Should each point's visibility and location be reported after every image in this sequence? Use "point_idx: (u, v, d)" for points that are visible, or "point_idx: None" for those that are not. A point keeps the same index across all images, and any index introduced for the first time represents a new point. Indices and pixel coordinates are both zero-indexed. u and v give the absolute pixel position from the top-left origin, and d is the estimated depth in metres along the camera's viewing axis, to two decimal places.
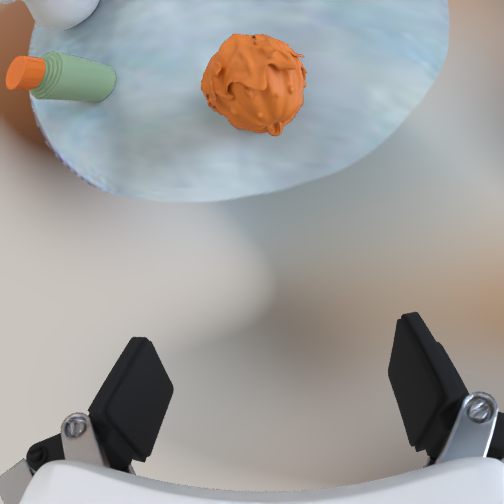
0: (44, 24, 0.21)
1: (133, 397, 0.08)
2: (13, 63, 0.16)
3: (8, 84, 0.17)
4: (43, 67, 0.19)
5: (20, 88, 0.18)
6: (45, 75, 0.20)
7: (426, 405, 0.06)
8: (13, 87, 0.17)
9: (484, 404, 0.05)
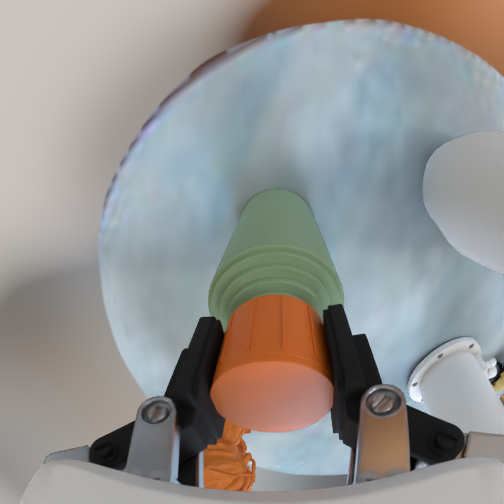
0: (463, 177, 0.13)
1: (211, 375, 0.09)
2: (319, 393, 0.08)
3: (237, 378, 0.08)
4: None
5: None
6: None
7: (335, 391, 0.07)
8: (214, 397, 0.08)
9: (388, 393, 0.06)
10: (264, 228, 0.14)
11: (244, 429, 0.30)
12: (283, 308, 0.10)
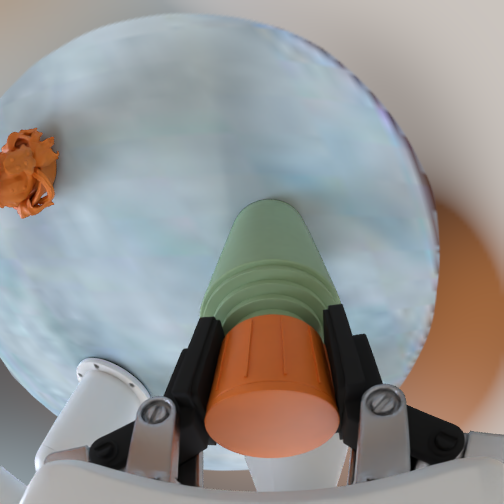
0: None
1: (211, 375, 0.09)
2: (322, 420, 0.07)
3: (234, 407, 0.07)
4: None
5: None
6: None
7: (335, 391, 0.07)
8: (209, 424, 0.07)
9: (388, 393, 0.06)
10: None
11: (14, 206, 0.20)
12: (282, 329, 0.09)
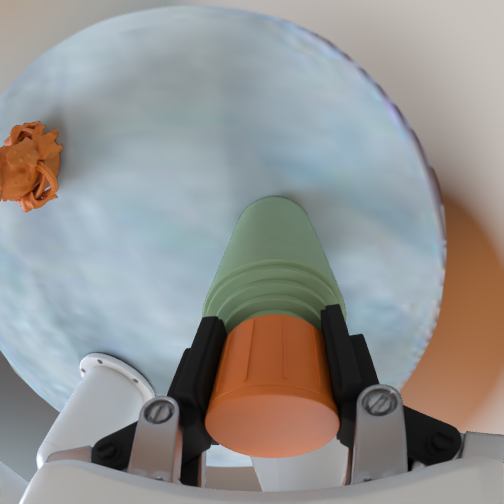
0: None
1: (214, 375, 0.09)
2: (322, 423, 0.07)
3: (233, 409, 0.07)
4: None
5: None
6: None
7: (332, 391, 0.07)
8: (209, 425, 0.07)
9: (384, 393, 0.06)
10: None
11: (17, 199, 0.19)
12: (284, 330, 0.09)
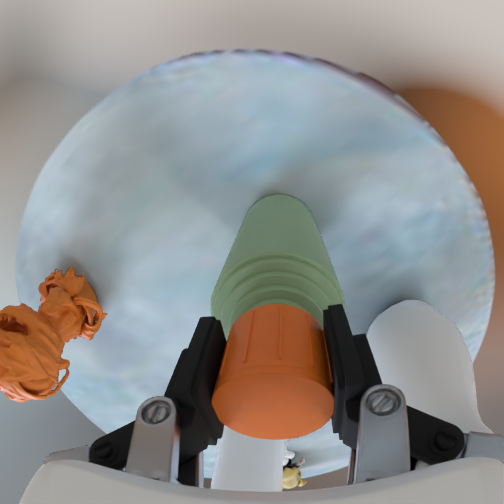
0: (424, 338, 0.18)
1: (211, 375, 0.09)
2: (252, 386, 0.07)
3: (239, 427, 0.08)
4: None
5: None
6: None
7: (335, 391, 0.07)
8: (271, 437, 0.09)
9: (388, 393, 0.06)
10: (322, 252, 0.14)
11: (77, 334, 0.27)
12: None
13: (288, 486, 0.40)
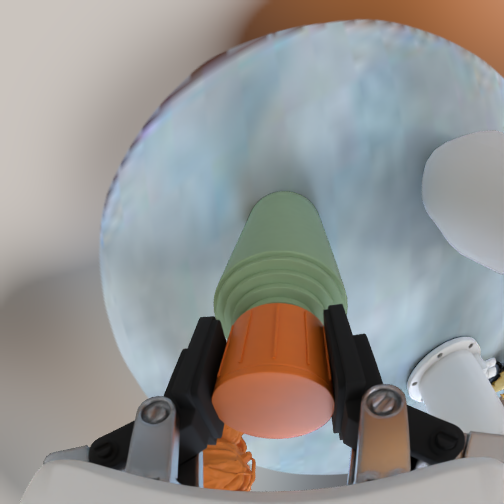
0: (462, 177, 0.13)
1: (211, 375, 0.09)
2: (233, 420, 0.08)
3: (306, 428, 0.08)
4: (270, 309, 0.10)
5: None
6: None
7: (336, 391, 0.07)
8: (330, 408, 0.08)
9: (388, 393, 0.06)
10: (269, 233, 0.14)
11: None
12: None
13: None
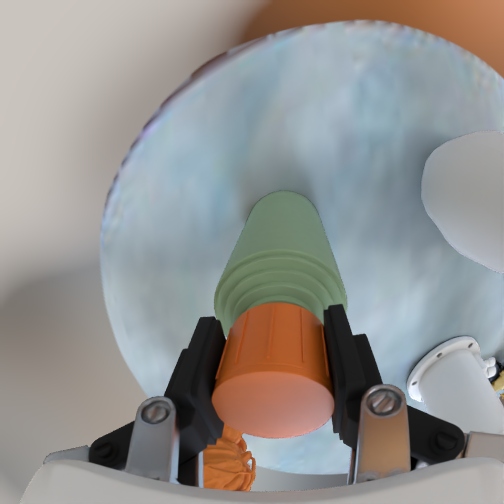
0: (461, 177, 0.14)
1: (211, 375, 0.09)
2: (295, 430, 0.08)
3: (306, 388, 0.07)
4: None
5: (260, 345, 0.08)
6: None
7: (335, 391, 0.07)
8: (263, 374, 0.07)
9: (388, 393, 0.06)
10: (269, 232, 0.14)
11: None
12: None
13: None
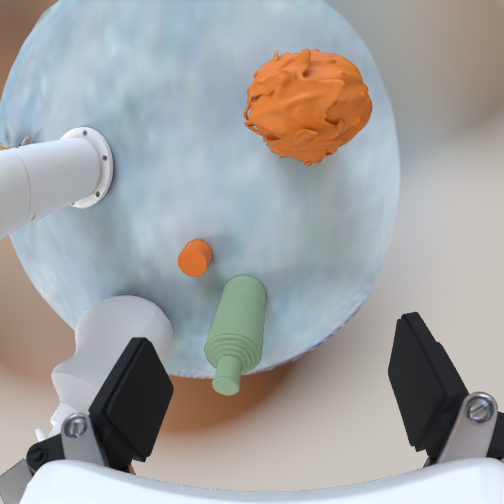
0: (162, 358, 0.37)
1: (133, 397, 0.08)
2: (199, 271, 0.37)
3: (197, 254, 0.36)
4: None
5: (189, 246, 0.37)
6: (236, 353, 0.28)
7: (426, 405, 0.06)
8: (188, 250, 0.36)
9: (484, 404, 0.05)
10: None
11: None
12: (210, 254, 0.39)
13: None
